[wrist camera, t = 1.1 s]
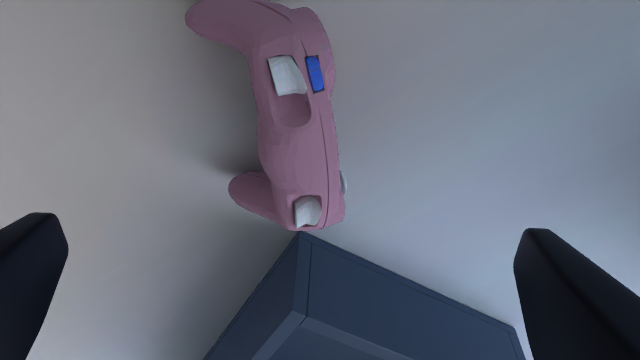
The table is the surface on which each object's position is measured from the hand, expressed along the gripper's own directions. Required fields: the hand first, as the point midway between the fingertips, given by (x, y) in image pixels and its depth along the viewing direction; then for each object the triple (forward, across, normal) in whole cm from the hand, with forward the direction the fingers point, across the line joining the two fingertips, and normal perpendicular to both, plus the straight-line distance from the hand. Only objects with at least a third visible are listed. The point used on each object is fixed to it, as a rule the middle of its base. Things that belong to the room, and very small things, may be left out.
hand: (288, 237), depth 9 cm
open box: (+13, -2, +22) cm, 26 cm away
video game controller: (+13, +2, +3) cm, 14 cm away
